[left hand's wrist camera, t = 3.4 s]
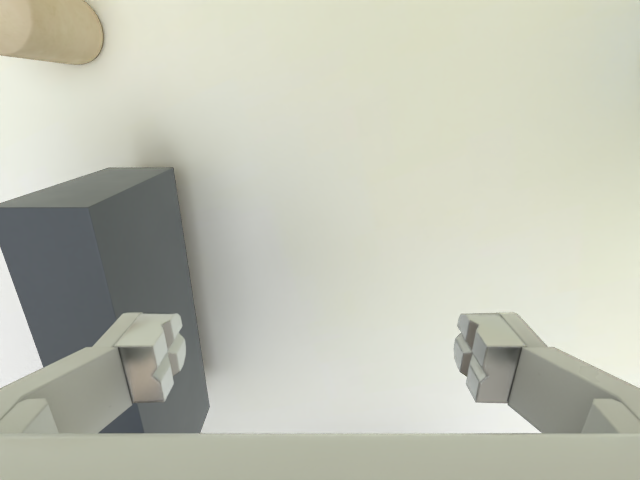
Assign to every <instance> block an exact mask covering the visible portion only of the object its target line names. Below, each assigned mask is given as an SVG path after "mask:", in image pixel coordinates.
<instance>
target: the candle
mask: <svg viewBox="0 0 640 480" xmlns="http://www.w3.org/2000/svg"><path fill="white" fill-rule="evenodd" d="M102 44H103V31H102V27H101V24H100V21H99V19H98V17H97V15H96V14H95V12H94V11H93V9H92V8H91V7H90V6H89V5H88V4H87V3H86V2H85V1H83V0H0V55H2V56H10V57H17V58H25V59H33V60H41V61H49V62H57V63H64V64H74V65H80V64H85V63H88V62H90V61H92V60H93V59H95V58H96V57H97V55H98V54H99V52H100V50H101V48H102Z"/></svg>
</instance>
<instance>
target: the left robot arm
mask: <svg viewBox="0 0 640 480" xmlns="http://www.w3.org/2000/svg"><path fill="white" fill-rule="evenodd" d="M182 326H183V325H182V320H181V316H180V315H179V314H178V313H142V312H128V313H123V314H122V315H121V316H120V317H119V318H118V319H117V320H116V321H115V323H114V324H113V325H112V326H111V327H110V328H109V329H108V330H107V331H106V332H105V333H104V335H103V336H102V337H101V338H100V339H99V340H98V341H97V342H96V343H95V344H94V345H93V346H92V347H85V348H83V349H81V350H79V351H77V352H75V353H73V354H71V355H69V356H67V357H65V358H63V359H60V360H58V361H56V362H54V363H52V364H50V365H48V366H46V367H44V368H42V369H40V370H38V371H35V372H33V373H31V374H29V375H27V376H25V377H23V378H21V379H19V380H17V381H15V382H13V383H10V384H8V385H6V386H4V387H2V388H0V480H640V388H638V387H636V386H633V385H631V384H629V383H627V382H625V381H623V380H621V379H619V378H617V377H615V376H613V375H611V374H609V373H607V372H604V371H602V370H600V369H598V368H596V367H594V366H592V365H590V364H588V363H586V362H584V361H582V360H580V359H577V358H575V357H573V356H571V355H569V354H567V353H565V352H563V351H561V350H559V349H557V348H555V347H548V346H547V345H546V344H545V343H544V342H543V341H542V340H541V339H540V338H539V337H538V336H537V335H536V333H535V332H534V331H533V330H532V329H531V328H530V327H529V326H528V325H527V324H526V323H525V321H524V320H523V319H522V318H521V317H520V316H519V315H518V314H516V313H514V312H504V313H473V314H461V315H460V317H459V320H458V325H457V326H458V328H459V330H460V331H461V333H460V334H459V335H458V336H457V337H456V338H455V344H454V356H455V361H456V364H457V367H458V369H459V371H460V372H461V373H462V374H464V375H465V376H467V381H466V385H467V387H468V389H469V391H470V392H471V394H472V396H473V398H474V400H475V402H481V403H508V405H509V406H510V407H511V408H512V409H513V410H515V411H516V412H517V413H518V414H520V415H521V416H522V417H523V418H524V419H526V420H527V421H528V422H529V423H531V424H532V425H533V426H534V427H535V428H537V429H538V430H539V431H540V432H541V433H99V432H100V431H101V430H102V429H103V428H105V427H106V426H107V425H108V424H110V423H111V422H112V421H113V420H114V419H116V418H117V417H118V416H119V415H121V414H122V413H123V412H124V411H125V410H127V409H128V408H129V407H130V406H132V403H158V402H165V400H166V398H167V396H168V394H169V392H170V391H171V389H172V387H173V385H174V381H173V376H175V375H176V374H178V373H179V372H180V371H181V369H182V367H183V365H184V361H185V356H186V343H185V338H184V337H183V336H182V335H181V334H180V333H179V331H180V330H181V328H182Z"/></svg>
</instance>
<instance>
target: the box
mask: <svg viewBox="0 0 640 480" xmlns="http://www.w3.org/2000/svg"><path fill="white" fill-rule="evenodd" d="M0 247H1V250H2V253H3V255H4V258H5V261H6V264H7V267H8V269H9V272H10V275H11V278H12V281H13V283H14V286H15V289H16V292H17V295H18V297H19V300H20V303H21V306H22V309H23V311H24V314H25V317H26V320H27V323H28V325H29V328H30V331H31V334H32V337H33V339H34V342H35V345H36V348H37V351H38V353H39V356H40V359H41V362H42V365H43V367H46V366H48V365H50V364H52V363H54V362H56V361H58V360H60V359H63V358H65V357H67V356H69V355H71V354H73V353H75V352H77V351H79V350H81V349H83V348H85V347H92V346H93V345H94V344H95V343H96V342H97V341H98V340H99V339H100V338H101V337H102V336H103V335H104V333H105V332H106V331H107V330H108V329H109V328H110V327H111V326H112V325H113V324H114V323H115V321H116V320H117V319H118V318H119V317H120V316H121V315H122V314H123V313H128V312H142V313H178V314H179V315H180V316H181V320H182V325H183V326H182V328H181V330H180V331H179V333H180V334H181V335H182V336H183V337H184V338H185V343H186V356H185V361H184V365H183V367H182V369H181V371H180V372H179V373H178V374H176V375H175V376H173V381H174V385H173V387H172V389H171V391H170V392H169V394H168V396H167V398H166V400H165V402H158V403H132V406H130V407H129V408H128V409H127V410H125V411H124V412H123V413H122V414H121V415H119V416H118V417H117V418H116V419H114V420H113V421H112V422H111V423H110V424H108V425H107V426H106V427H105V428H103V429H102V430H101V431H100V432H99V433H200V432H201V429H202V426H203V424H204V421H205V418H206V415H207V413H208V410H209V407H210V406H209V400H208V393H207V387H206V380H205V373H204V367H203V360H202V354H201V347H200V340H199V334H198V327H197V321H196V314H195V308H194V301H193V294H192V288H191V281H190V275H189V268H188V261H187V255H186V248H185V242H184V235H183V229H182V222H181V215H180V209H179V202H178V196H177V189H176V182H175V176H174V169H173V168H106V169H103V170H100V171H97V172H94V173H91V174H88V175H85V176H82V177H79V178H76V179H73V180H70V181H67V182H64V183H61V184H57V185H54V186H51V187H48V188H45V189H42V190H39V191H36V192H33V193H30V194H27V195H24V196H21V197H18V198H15V199H12V200H8V201H5V202H2V203H0Z"/></svg>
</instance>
